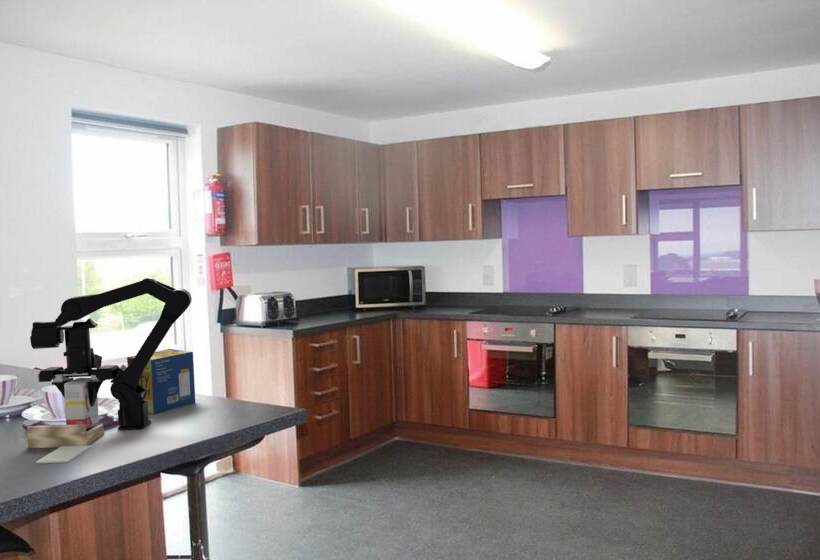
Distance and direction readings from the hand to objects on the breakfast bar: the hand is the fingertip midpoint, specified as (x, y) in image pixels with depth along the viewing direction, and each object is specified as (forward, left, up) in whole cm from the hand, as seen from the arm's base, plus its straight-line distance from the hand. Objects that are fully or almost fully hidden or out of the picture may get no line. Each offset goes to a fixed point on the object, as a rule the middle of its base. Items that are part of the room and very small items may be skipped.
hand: (82, 406), depth 180 cm
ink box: (0, 0, -5) cm, 5 cm away
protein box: (-12, -24, -7) cm, 28 cm away
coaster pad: (-5, +20, -6) cm, 22 cm away
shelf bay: (0, +9, -6) cm, 11 cm away
